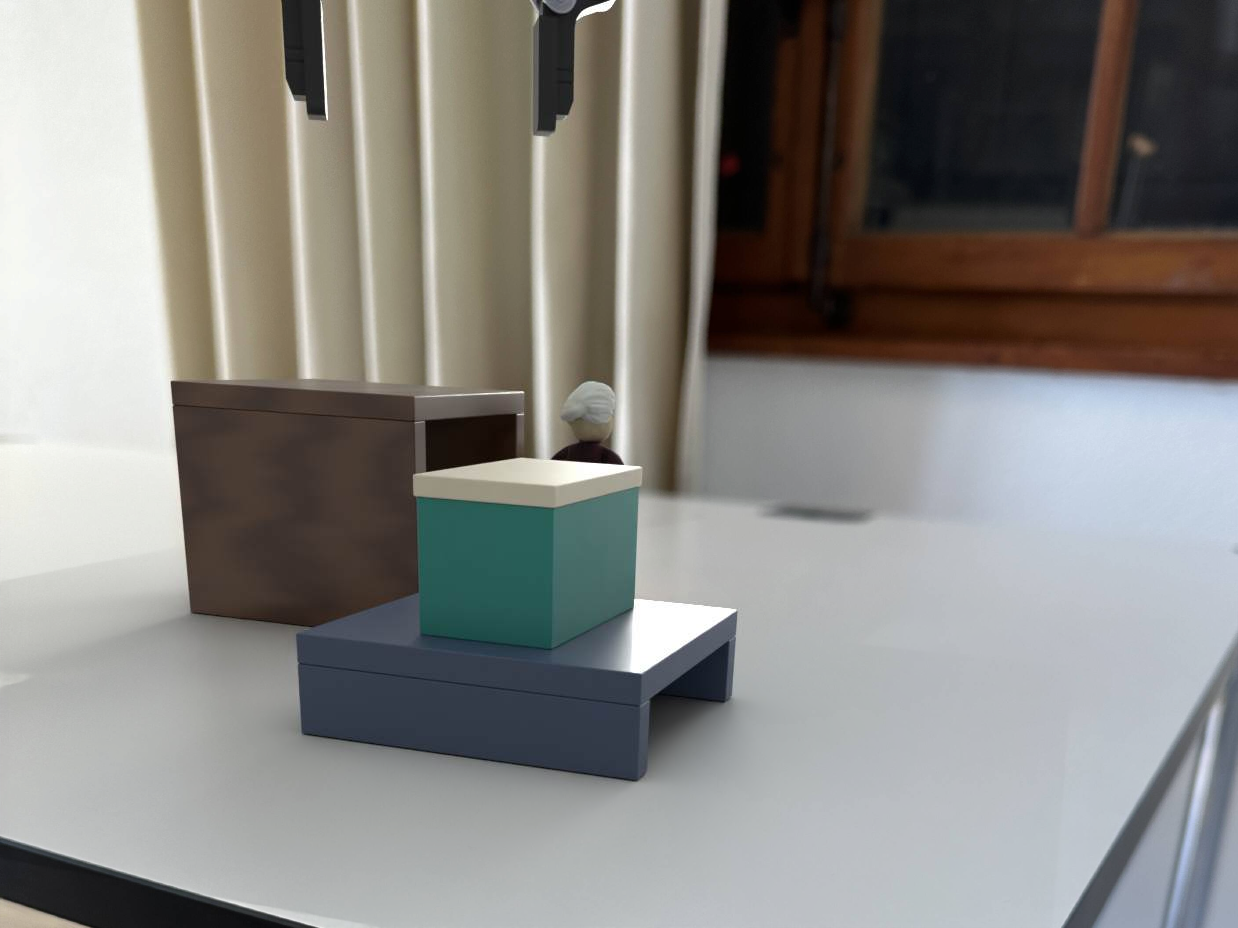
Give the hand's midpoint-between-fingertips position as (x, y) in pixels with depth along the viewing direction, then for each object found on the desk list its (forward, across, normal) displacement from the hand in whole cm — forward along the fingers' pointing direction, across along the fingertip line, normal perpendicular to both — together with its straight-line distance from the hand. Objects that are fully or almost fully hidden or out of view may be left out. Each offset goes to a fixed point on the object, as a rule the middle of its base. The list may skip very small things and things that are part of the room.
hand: (431, 126), depth 50 cm
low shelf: (+22, -4, +3) cm, 23 cm away
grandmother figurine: (+22, -10, -25) cm, 35 cm away
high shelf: (+22, +4, -21) cm, 31 cm away
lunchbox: (+18, -4, +3) cm, 19 cm away
